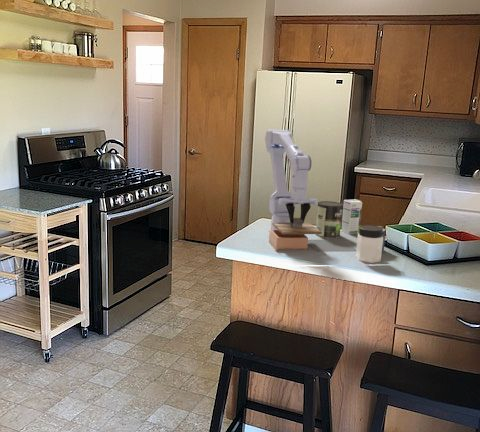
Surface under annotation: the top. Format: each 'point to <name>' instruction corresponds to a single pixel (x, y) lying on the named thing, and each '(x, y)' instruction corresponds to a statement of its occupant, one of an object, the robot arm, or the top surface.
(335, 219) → the coffee can
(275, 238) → the dish
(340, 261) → the top surface
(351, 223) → the syrup box
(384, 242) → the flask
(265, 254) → the top surface
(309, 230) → the lid
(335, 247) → the mat
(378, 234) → the jar
